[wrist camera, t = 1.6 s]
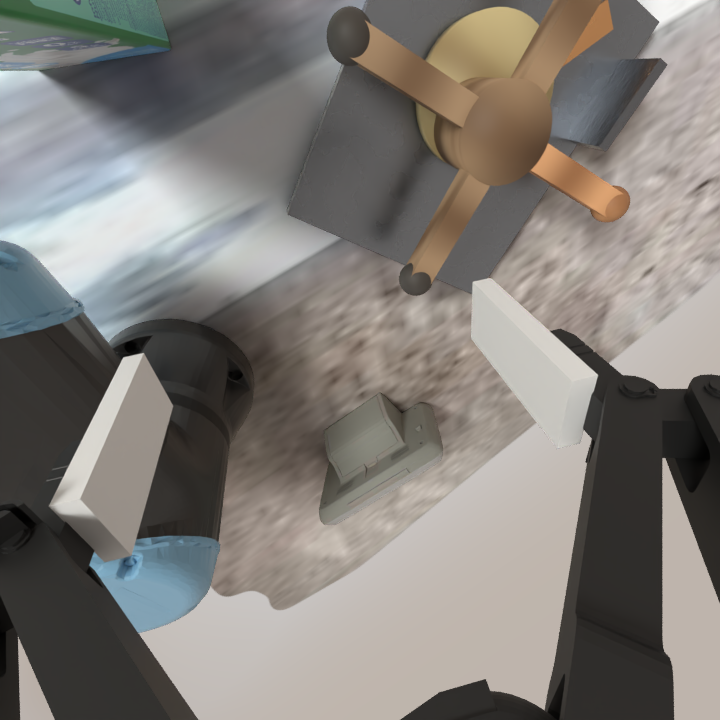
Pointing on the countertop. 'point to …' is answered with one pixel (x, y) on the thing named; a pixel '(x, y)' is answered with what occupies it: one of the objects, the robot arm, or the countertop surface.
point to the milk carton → (77, 32)
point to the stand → (430, 174)
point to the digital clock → (376, 455)
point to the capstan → (481, 111)
